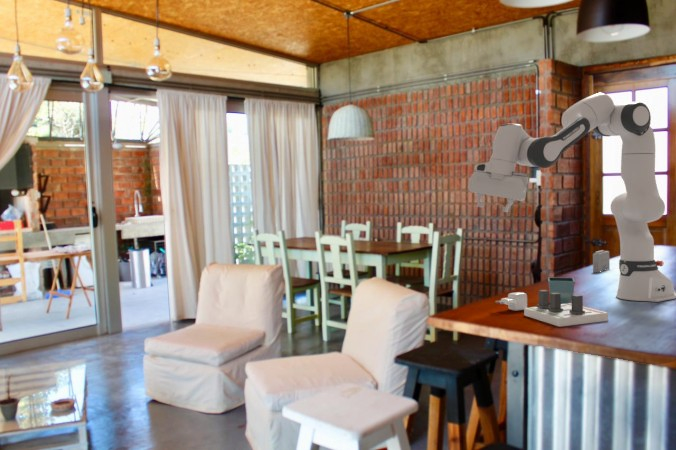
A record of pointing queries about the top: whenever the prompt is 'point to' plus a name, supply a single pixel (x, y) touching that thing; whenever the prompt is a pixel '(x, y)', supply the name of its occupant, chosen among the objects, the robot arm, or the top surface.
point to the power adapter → (515, 301)
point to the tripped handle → (577, 304)
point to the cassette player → (600, 261)
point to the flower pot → (562, 288)
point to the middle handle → (555, 302)
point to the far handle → (543, 299)
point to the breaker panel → (566, 315)
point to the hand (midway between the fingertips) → (492, 209)
